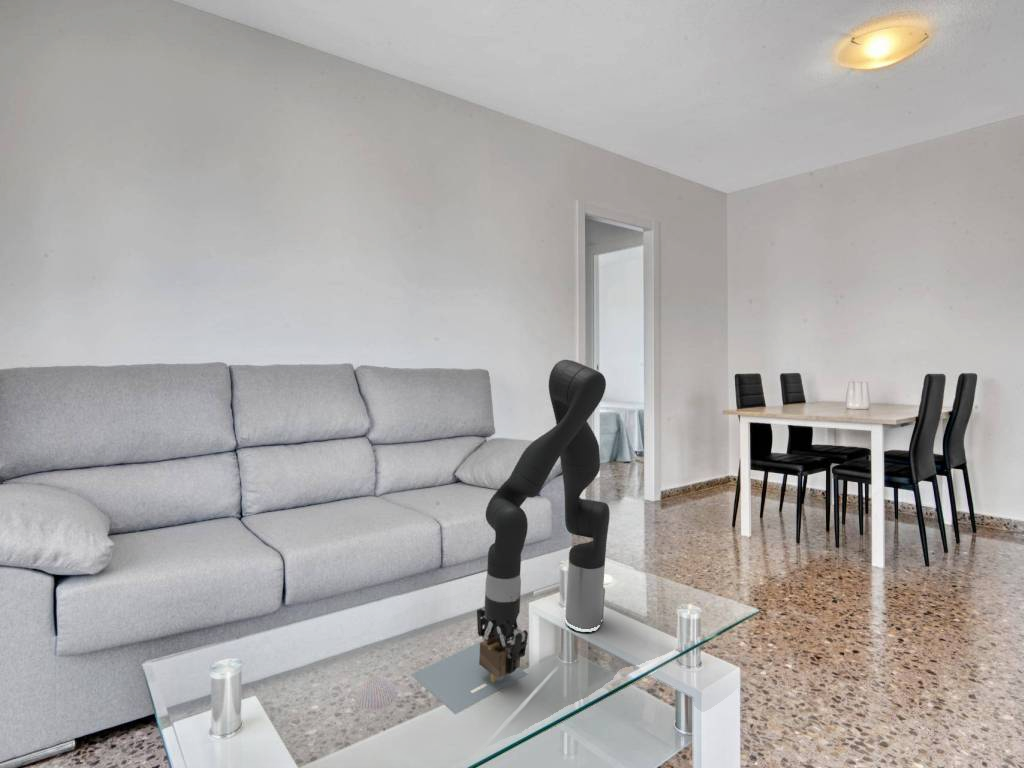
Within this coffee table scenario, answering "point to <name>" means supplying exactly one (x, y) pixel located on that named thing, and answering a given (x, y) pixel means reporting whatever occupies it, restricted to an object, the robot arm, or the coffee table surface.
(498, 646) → the open wooden crate
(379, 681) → the seashell
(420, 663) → the coffee table surface
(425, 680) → the shaft plate
